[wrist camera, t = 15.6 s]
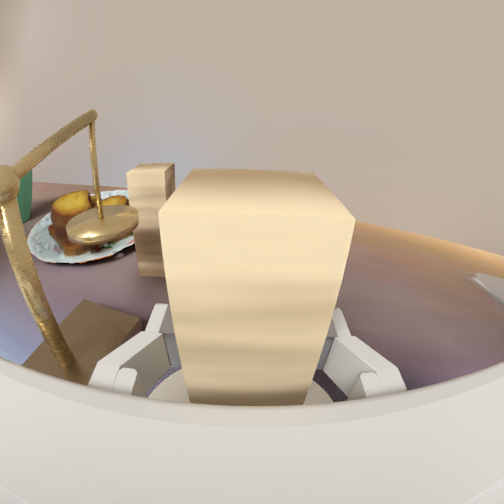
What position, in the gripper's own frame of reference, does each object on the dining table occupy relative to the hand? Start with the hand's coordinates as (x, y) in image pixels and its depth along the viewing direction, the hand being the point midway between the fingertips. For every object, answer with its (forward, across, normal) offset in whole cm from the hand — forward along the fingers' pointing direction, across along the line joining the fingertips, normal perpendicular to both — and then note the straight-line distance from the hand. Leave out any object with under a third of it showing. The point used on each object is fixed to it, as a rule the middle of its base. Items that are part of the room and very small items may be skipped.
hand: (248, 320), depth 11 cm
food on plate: (+30, -24, -11) cm, 40 cm away
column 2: (-1, 0, -6) cm, 7 cm away
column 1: (+20, -10, -10) cm, 24 cm away
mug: (+35, -50, -10) cm, 62 cm away
